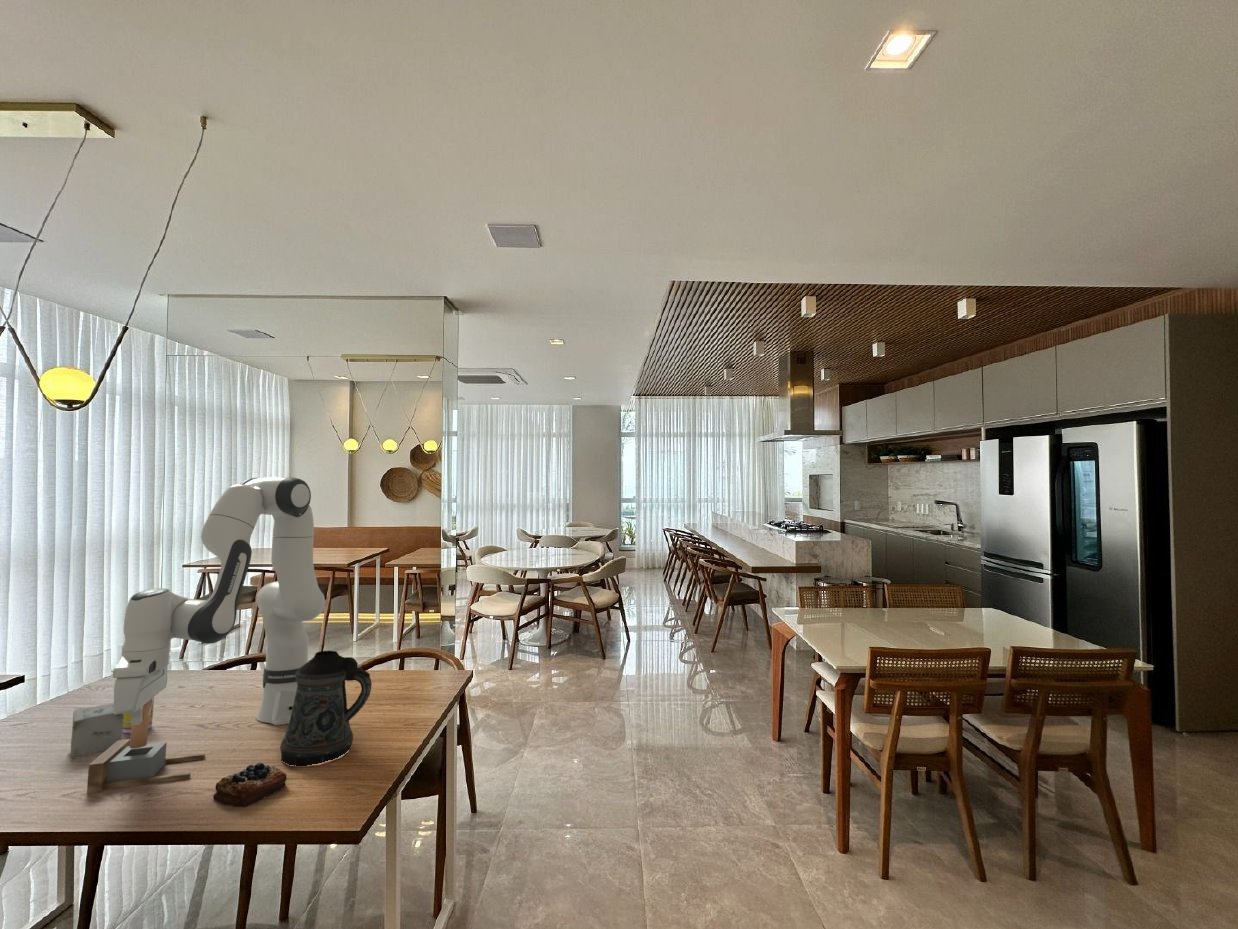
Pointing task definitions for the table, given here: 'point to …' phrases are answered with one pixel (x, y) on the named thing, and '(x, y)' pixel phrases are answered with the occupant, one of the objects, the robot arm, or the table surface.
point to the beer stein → (323, 710)
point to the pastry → (249, 785)
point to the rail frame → (99, 779)
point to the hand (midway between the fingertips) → (140, 721)
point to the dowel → (140, 729)
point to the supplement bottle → (127, 721)
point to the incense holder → (95, 729)
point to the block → (137, 762)
